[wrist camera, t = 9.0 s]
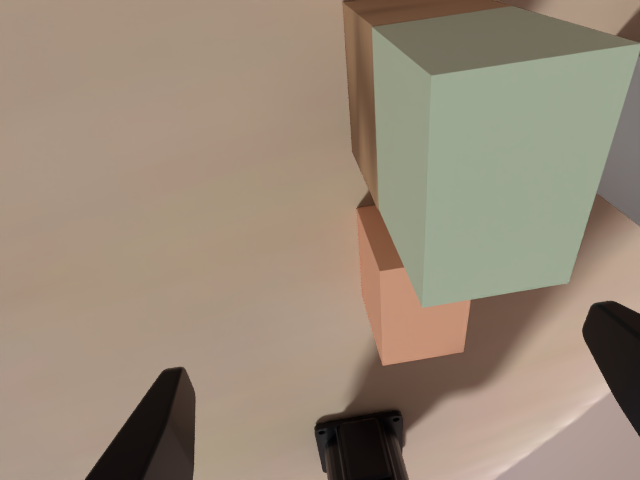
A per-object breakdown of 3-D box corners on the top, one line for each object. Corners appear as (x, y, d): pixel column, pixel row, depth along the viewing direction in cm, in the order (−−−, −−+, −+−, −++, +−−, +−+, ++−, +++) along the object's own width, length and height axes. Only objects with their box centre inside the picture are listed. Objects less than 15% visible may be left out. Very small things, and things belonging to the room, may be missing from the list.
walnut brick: (438, 138, 20) (486, 192, 16) (352, 151, 19) (377, 209, 15) (448, -13, 16) (512, 5, 12) (342, 2, 16) (372, 25, 12)
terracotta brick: (429, 284, 25) (463, 352, 21) (361, 295, 25) (382, 365, 21) (435, 194, 21) (477, 255, 17) (356, 207, 21) (379, 271, 17)
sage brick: (487, 191, 16) (568, 282, 12) (378, 209, 15) (422, 308, 11) (512, 5, 12) (642, 43, 8) (371, 26, 12) (431, 75, 8)
